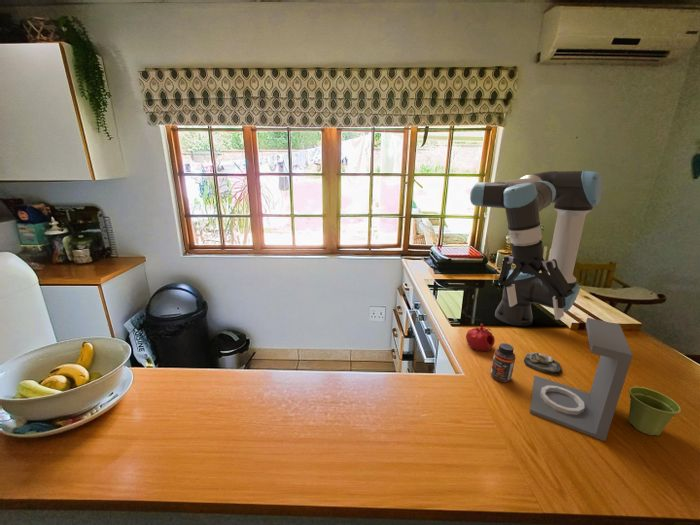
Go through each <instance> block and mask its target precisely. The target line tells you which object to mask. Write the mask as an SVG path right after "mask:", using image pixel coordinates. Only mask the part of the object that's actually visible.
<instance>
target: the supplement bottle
mask: <svg viewBox="0 0 700 525" xmlns="http://www.w3.org/2000/svg"><path fill="white" fill-rule="evenodd" d="M515 360H516V355H515V353H514V347H513V345H511V344H509V343H505V342H501V343H499V346H498V348H497V349H495V351H494V353H493V358H492V363H491V370H490V376H491V377H492V378H493V379H494V380H495V381H497V382H501V383H509V382H511V380H512V377H513V372H514V371H513V370H514V366H515V362H516V361H515Z"/></svg>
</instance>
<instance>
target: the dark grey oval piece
mask: <svg viewBox="0 0 700 525" xmlns="http://www.w3.org/2000/svg"><path fill="white" fill-rule="evenodd" d="M524 356H525V357H524V359H523V363H524V365H525V366H526V367H528V368H530V369H532V370H535V371H538V372H540V373H545V374H548V375H555V376H556V375H557V376H558V375H560V374H561V373H563V370H562V366H561V364H560V362H558V361H557V360H554V357H552V356H550V355H548V354H543V353H539V352H537V351H536V352H528V353H525V355H524Z"/></svg>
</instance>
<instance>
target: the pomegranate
mask: <svg viewBox="0 0 700 525" xmlns="http://www.w3.org/2000/svg"><path fill="white" fill-rule="evenodd" d="M473 327H474V328H471V329H468V331H467V333H466V335H465V339H466V342H467V344H468V346H470V348H471V349H473V350H476V351H479V352H487V351H490V350H492V348H493V347H494V345H495V342H496V339H495V336H494V335H493V334H492V332H491V331H492V329H491V328H486V327H484V324H483V323H480V327H477V326H475V325H473Z"/></svg>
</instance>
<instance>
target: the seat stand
mask: <svg viewBox="0 0 700 525" xmlns="http://www.w3.org/2000/svg"><path fill="white" fill-rule="evenodd" d="M585 327H586V328H585V329H586V334H587V339H588V345H589V349H590V353H591V354H595V355H597V356H600V357H599V360H598V363H597V367H596V370H595V373H594V377H593V381H592V384H591V387H590V391H589V392H587V391H584V390H581V389H578V388H574V387H572V386H569V385H566V384H563V383H559V382H556V381H554V380H550V379H547V378H544V377H542V376H538V375H534V377H533V385H532V392H531V393H532V394H531V400H530V408H529V413H530V414H533V415H534V416H537V417H540V418H543V419H545V420H549V421H551V422H553V423H556V424H557V425H558V424H559V425H560V426H563V427H565V428H569V429H571V430H573V431H574V430H575V431H577V432H579V433H582V434H584V435H587V436H590V437H592V438H595V439H598V440H600V441H603V442H606V440H607V437H608V434H609V430H610V427H611V425H612V421H613V418H614V415H615V412H616V408H617V405H618V403H619V399H620V397H621V394H622V390H623V387H624V384H625V381H626V378H627V375H628V372H629V369H630V365H631V362H632V359H633V352H632V350H631V347H630V345H629V343H628V341H627V338H626V336H625V333H624V332H623V329H622V327H621V324H619V323H614V322H610V321H606V320H602V319H596V318H592V317H587V318H586V322H585Z"/></svg>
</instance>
